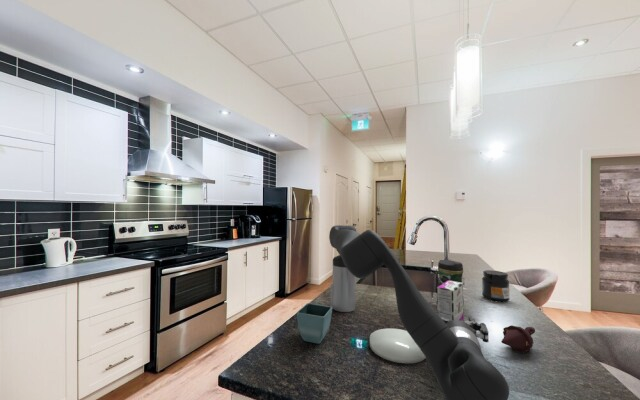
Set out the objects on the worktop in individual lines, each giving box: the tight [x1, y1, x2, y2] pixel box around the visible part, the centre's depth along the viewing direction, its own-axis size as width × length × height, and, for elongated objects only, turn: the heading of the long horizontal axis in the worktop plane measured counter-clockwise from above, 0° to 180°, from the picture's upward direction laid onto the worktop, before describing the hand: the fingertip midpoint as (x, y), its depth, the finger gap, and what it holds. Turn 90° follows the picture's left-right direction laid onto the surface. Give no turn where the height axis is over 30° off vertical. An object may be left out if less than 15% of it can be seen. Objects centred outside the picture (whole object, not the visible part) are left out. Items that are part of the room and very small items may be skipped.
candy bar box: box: [436, 281, 465, 323], centre depth 83 cm, size 11×5×16 cm, turn 137°
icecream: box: [501, 325, 536, 354], centre depth 75 cm, size 7×7×15 cm
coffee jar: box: [437, 259, 465, 306], centre depth 112 cm, size 10×8×19 cm
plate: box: [369, 328, 426, 364], centre depth 76 cm, size 16×16×2 cm
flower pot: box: [296, 303, 333, 345], centre depth 80 cm, size 9×9×9 cm
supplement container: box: [481, 269, 511, 303], centre depth 120 cm, size 10×10×12 cm
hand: (452, 317), depth 76 cm, fingers open, 8 cm apart
